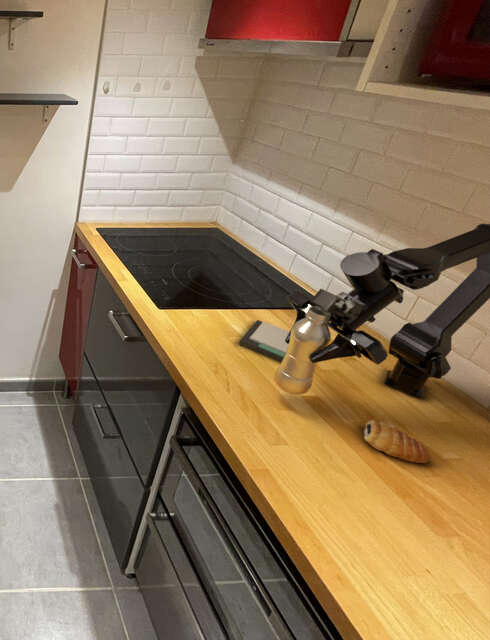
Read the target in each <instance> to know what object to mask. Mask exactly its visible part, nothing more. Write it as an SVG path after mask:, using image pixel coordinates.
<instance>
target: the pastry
mask: <svg viewBox="0 0 490 640" xmlns="http://www.w3.org/2000/svg"><path fill="white" fill-rule="evenodd" d="M363 430H364V431H363V433H364V435H363V437H364V438H363V439H364V441H365V442H367V443H368V444H369V445H370V446H371V447H372V448H374V449H376V450H377V451H379V452H380V451H382V452H384V453H385V454H386V455H389V456H392V457H393V458H394V457H395V458H398V459H400V460H404V461H408V462H410V463H419V464H425V463H428V461H429V459H430V454H431V452H430V449H428V448H427V447H426V446H425V445H424V444H422V443H421V442H420V441H417V439H416V438H415V437H412V436H410V435H409V434H408V433H407V432H405V431H401V430H400V429H399V428H398V427H397V426H394V425H393V426H391V425H389V424H388V423H387V422H384V421H379V422H378V421H377V420H375V419H371V420H368V422H366V423H365V428H364V429H363Z"/></svg>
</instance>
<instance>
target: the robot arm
mask: <svg viewBox="0 0 490 640" xmlns="http://www.w3.org/2000/svg"><path fill="white" fill-rule="evenodd" d="M475 259H476V267H475V268H474V269H473V270H472V271H471V272H470V274H468V275H467V277H466V278H465V279H463V280H462V282H461V283H459V285H458V286H457V287H455V289H454V290H453V291H452V292H451V293H450V294H449V295H448V296H447V297H446V298H445V299H444V300H443V301H442V302H441V303H440V304H439V305H438V306H437V307H436V308H435V309H434V310H433V311H432V312H431V313H430V314H429V315H428V316H427V317H426V318H425V320H423V321H420V322H415V323H411V322H407V323H405V324H403V326H402V327H401V328H400V329H399V330H398V331H397V332H396V333H394V334H393V335H392V336H391V337H390V340H389V345H388V352H387V350H386V348H385V347H384V345H383V344H382V342H381V340H379V339H377V338H376V337H374V336H372V335H371V334H369V333H368V332H366V331H364V330H357V329H358V328H360V327H361V326H362V325H364V324H366V322H370V323H371V324H372V323H374V322H375V321H376V317H375V316H376V315H377V314H379V313H380V312H381V311H383V310H384V309H386V308H387V307H388V306H389V305H391V304H392V303H394V302H395V303H398V304H402V303H403V301H404V292H405V290H404V289H402V288H400V287H398V286H397V284H396V283H398V284H400V285H402V286H404V287H407V288H409V289H410V290H413V291H416V290H421V289H424V288H426V287H428V286H430V285H431V284H434V283H435V282H437V281H439V279H440V277H441V273H442V272H445V271H446V270H449V269H451V268H454V267H456V266H459V265H461V264H464V263H466V262H469V261H472V260H475ZM339 264H340V266H339V267H340V269H341V271H342V272H343V274H344V276H345V278H346V280H347V281H348V282H349V284H350V285H351V287H352V288H353V289H352V290H350V291H348V292H344V291H342V292H339V293H337V294H334V293H332V292H330V291H327V290H325V289H323V288H319V290H318V291H317V292H316V294H314V295H313V297H312V298H310V297H309V296H307V295H305V294H303V293H302V292H300V291H296V292H292V293H291V294H289V295H288V296H287V297H286V300H287V301H288V302H289V304H290V305H291V306H292V308H293V309H294V311H295V312H296V318H295V321H294V323H293V325H294V324H295V323H296V322H298V321H299V320H301V319H304V318H306V317H305V315H306V313H307V311H308V309H309V307H311V306H318V307H321V308H323V309H324V310H326V311H327V312H329V313H331V317H330V320H329V323H327V326H328V328H329V329H331V330H333V331H334V332H336V333H337V334H336V336H335V337H334V339H333V340H332V342H331V343H328V345H327V346H326V347H325V348H324V349H322V350H321V351H319V352H318V353H317V354H315V355H314V356H313V357H312V358H311V359H310V361H311V362H312V363H316V362H317V363H321V362H325V361H331V360H335V359H340V358H341V359H342V358H349V357H351V358H352V357H356V358H358V359H361V358H362V357H364V358H366V359H367V360H369V361H370V362H372V363H374V364H375V365H377V366H379V365H380V364H381V363H383V362H384V361H385V360H387V358H388V355H392V356H393V357H394V358H396V359H397V360H396V362H395V364H394V366H393V367H392V369H391V370H387V372H386V375H385V378H384V381H383V385H386V386H388V387H390V388H393V389H394V390H398V391H400V392H402V393H404V394H409V395H410V396H413V397H415V398H418V399H421V400H422V399H423V397H424V392H425V388H426V383H427V382H428V380H429V378H433V379H437V380H441V379H442V377H444V376H446V375H447V374H448V373H449V372H450V371H451V369H452V367H451V365H450V363H449V361H448V359H447V356H448V355H449V354H450V353H451V351H452V340H453V339H452V337H453V336H454V334H455V333H456V332H457V331H458V330H459V329H460V328H461V327H462V326H463V325H464V324H466V322H468V321H469V319H470V318H471V317H473V315H475V314H476V313H477V312H478V310H479V309H481V308H482V306H484V304H486V303H487V302H488V301H489V300H490V223H485V222H484V223H480V224H477V226H476V227H474V229H472V230H469V231H467V232H464V233H461V234H458V235H456V236H454V237H451V238H449V239H446V240H443V241H440V242H438V243H436V244H432V245H430V246H427V247H419V248H418V247H406V248H403V249H398V250H394V251H391V252H389V253H387V254H384V253H383V252H382V251H381V252H380V251H379V250H376V249H373V248H371V249H370V250H368V251H367V252H366V251H365V252H363V251H360V252H355V253H352V254H347V255H346V256H345V257H343V259H341V261H340V263H339ZM291 330H292V328H291V329H290V330H289V331H290V332H289V334H288V336H287V337H286V339H285V342H286V343H287V344H289V341H290V335H291Z"/></svg>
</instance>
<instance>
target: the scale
mask: <svg viewBox="0 0 490 640" xmlns="http://www.w3.org/2000/svg"><path fill="white" fill-rule="evenodd" d="M289 332H290V330H286V329H285V328H282V327H280V326H277V325H275V324H272V323H269V322H266V321H261V320H259V319H257V320H256V321H255V322H254V323H253V324H252V325H251V327H250V328H249V329H248V331H246V333H245V334H244V335H243V336H242V337H241V339H240V340H239V342H238V345H239V346H241V347H244V348H246V349H249V350H251V351H253V352H256V353H258V354H260V355H262V356H265V357H267V358H270V359H272V360H274V361H277V362H278V363H281V362H282V360H283V358H284V356H285V355H286V352H287V349H288V345H289V344H287V343H286V342H285V339H286V337H287V336H288V334H289Z"/></svg>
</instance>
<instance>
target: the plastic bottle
mask: <svg viewBox="0 0 490 640" xmlns="http://www.w3.org/2000/svg"><path fill="white" fill-rule="evenodd" d="M305 317H306V318H304V319H301V320H299V321H298V322H296V323H295V322H294V323H295V324H294V323H293V325H292V326H291V329H292V330H291V329H290V330H291V335H290V341H289V345H288V349H287V352H286V355H285V356H284V358H283V360H282V362H280V364H279V365H278V366H277V368H276V369H275V371H274V378H273V379H274V382H275V384H276V386H277V387H278V389H281V390H282V391H284V392H286V393H288V394H291V395H298V396H299V395H300V396H301V395H303V394H306V393H307V392H309V390H310V389H311V387H312V385H313V382H314V381H313V380H314V374H315V370H316V366H317V363H318V362H316V363H312V362H311V361H310V359H311V358H312V357H313V356H314V355H315V354H317V353H318V352H319V351H321V350H322V349H324V348H325V347H326V346H328V345H329V344H330V341H331V338H332V334H331V331H330V327H328V326H327V323H329V322H330V321H329V320H330V317H331V313H329V312H327V311H326V310H324V309H323V308H321V307H320V306H318V305H316V306H311V307H309V309H308V311H307V313H306V315H305Z"/></svg>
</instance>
